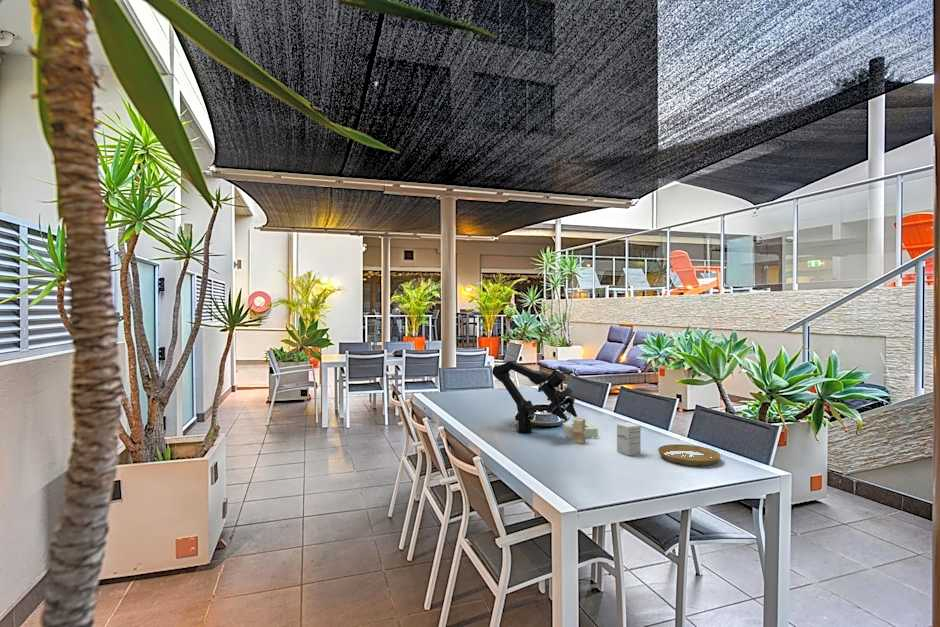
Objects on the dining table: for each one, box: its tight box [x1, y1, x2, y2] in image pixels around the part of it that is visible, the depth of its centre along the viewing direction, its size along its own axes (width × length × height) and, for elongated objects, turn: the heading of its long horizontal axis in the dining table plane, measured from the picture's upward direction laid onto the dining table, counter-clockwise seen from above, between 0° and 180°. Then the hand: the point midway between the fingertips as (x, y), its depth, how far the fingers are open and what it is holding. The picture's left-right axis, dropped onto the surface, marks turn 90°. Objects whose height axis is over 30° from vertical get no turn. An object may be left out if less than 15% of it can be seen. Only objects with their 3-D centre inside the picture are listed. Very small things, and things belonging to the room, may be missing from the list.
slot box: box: [562, 421, 599, 439], centre depth 246 cm, size 14×14×4 cm
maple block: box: [573, 417, 586, 444], centre depth 232 cm, size 4×4×11 cm
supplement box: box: [616, 421, 642, 457], centre depth 215 cm, size 7×7×13 cm
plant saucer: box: [657, 443, 722, 466], centre depth 206 cm, size 24×24×3 cm
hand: (571, 418), depth 235 cm, fingers open, 9 cm apart
